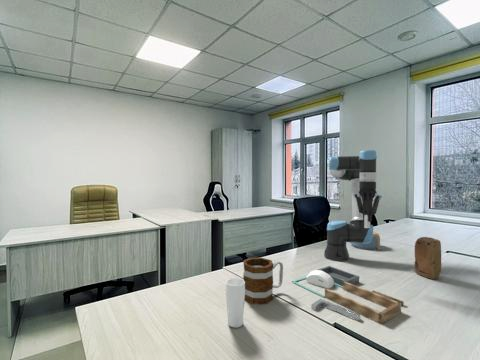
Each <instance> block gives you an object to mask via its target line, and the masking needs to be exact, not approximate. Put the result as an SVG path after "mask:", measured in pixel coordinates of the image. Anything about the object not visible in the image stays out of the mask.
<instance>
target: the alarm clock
mask: <svg viewBox="0 0 480 360" xmlns="http://www.w3.org/2000/svg"><path fill="white" fill-rule="evenodd" d="M349 243H350V244H351V247H352V248H356V249H360V250H366V251H367V250H368V251H372V250H373V251H374V250H380V249H381V235H380V234H379V233H378V232H377V231H374V230H373V237H372V241H371V243H369V244H365V243H363V244H362V243H352V242H349Z"/></svg>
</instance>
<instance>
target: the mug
mask: <svg viewBox="0 0 480 360" xmlns="http://www.w3.org/2000/svg"><path fill="white" fill-rule="evenodd" d="M242 261H243V276H242V277H243V278H242V280H244V281H245V301H244V302H248V303H250V304H252V305H266V304H267V305H268V304H269V303H270V302H272V301H273V300H274V293H273V289H278V288H280V287H281V286H282V284H283V277H284V276H283V275H284V266H283V265H284V264H283V262H281V261H279V260H277V261H275V262H273V261H272V259H268V258H264V257H250V258H249V257H248V258H247V259H244V260H242ZM278 265H279V272H278V274H279V276H278V282H277V284H274V276H273V275H274V273H273V272H274V271H273V270H274V269H275V268H276V267H277V266H278Z"/></svg>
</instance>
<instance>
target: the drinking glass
mask: <svg viewBox="0 0 480 360" xmlns="http://www.w3.org/2000/svg"><path fill="white" fill-rule="evenodd" d="M225 297H226V300H225V301H226V307H227V308H226V310H227V324H228V326H229V327H231V328H234V329H235V328H241V327H242V326H243V325H244V312H245V302H246V301H245V281H244V280H243V278H237V277H235V278H234V277H233V278H230V279H228V280H226V282H225Z"/></svg>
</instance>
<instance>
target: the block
mask: <svg viewBox="0 0 480 360" xmlns="http://www.w3.org/2000/svg"><path fill="white" fill-rule="evenodd" d="M441 243H442V242H441V240H439V239H435V238H433V237H428V236H422V237H419V238H417V239H416V241H415V242H414V272H415V273H416V274H418V275H420V276H422V277H424V278H427V279H429V280H437V279H439V277H440V275H441V272H442V244H441Z"/></svg>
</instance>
